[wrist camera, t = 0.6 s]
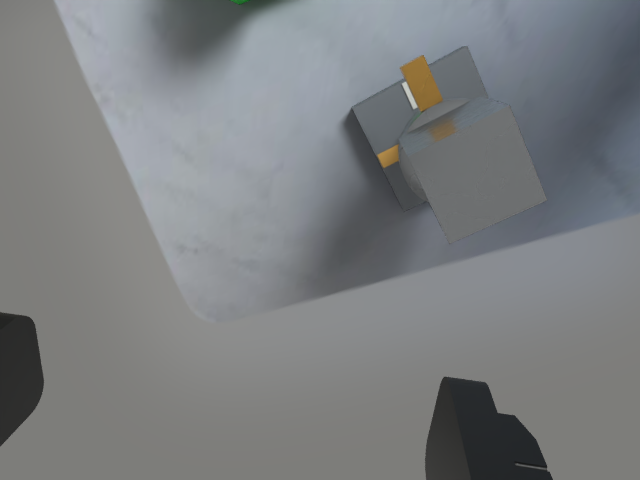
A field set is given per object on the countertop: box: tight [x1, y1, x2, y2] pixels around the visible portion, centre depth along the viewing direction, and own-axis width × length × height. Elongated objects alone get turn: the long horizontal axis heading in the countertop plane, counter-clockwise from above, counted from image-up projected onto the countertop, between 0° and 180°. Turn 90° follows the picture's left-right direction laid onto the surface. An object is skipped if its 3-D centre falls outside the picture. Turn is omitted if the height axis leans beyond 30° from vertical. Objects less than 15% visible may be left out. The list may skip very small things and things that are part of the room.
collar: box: [398, 55, 547, 244], centre depth 23 cm, size 6×8×7 cm
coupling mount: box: [352, 46, 489, 212], centre depth 30 cm, size 8×8×7 cm
